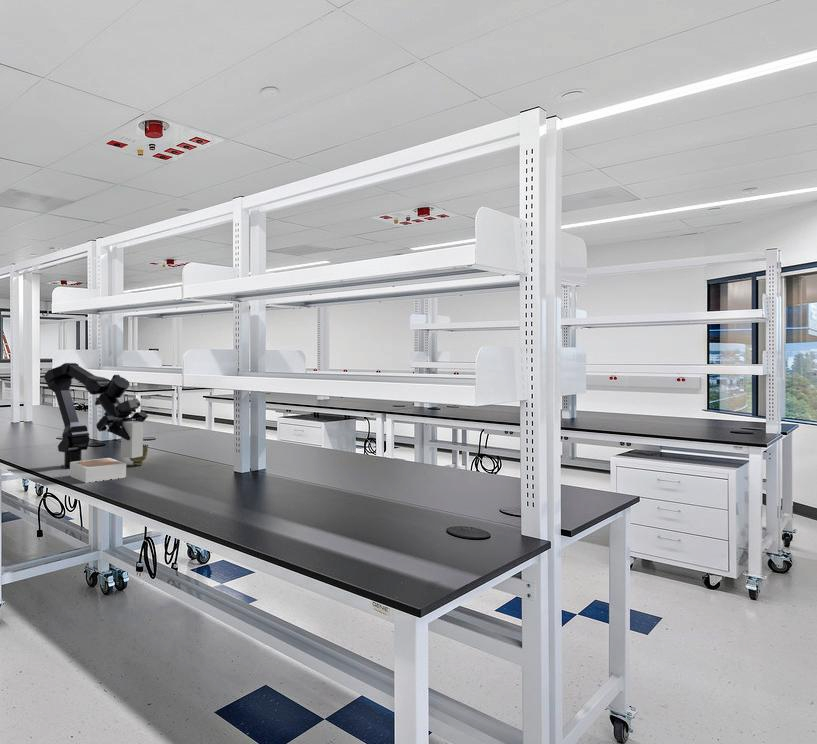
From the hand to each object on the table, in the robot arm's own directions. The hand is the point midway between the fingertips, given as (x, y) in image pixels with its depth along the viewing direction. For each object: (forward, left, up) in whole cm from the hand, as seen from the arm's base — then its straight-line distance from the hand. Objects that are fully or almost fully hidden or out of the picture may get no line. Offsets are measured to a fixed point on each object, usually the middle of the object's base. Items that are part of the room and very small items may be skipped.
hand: (135, 438), depth 207 cm
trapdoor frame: (-6, -10, -13) cm, 18 cm away
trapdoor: (-6, -10, -13) cm, 18 cm away
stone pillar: (-1, -1, -7) cm, 7 cm away
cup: (-18, +9, -14) cm, 25 cm away
